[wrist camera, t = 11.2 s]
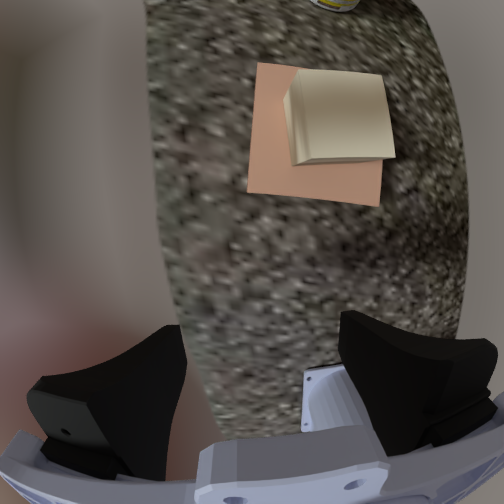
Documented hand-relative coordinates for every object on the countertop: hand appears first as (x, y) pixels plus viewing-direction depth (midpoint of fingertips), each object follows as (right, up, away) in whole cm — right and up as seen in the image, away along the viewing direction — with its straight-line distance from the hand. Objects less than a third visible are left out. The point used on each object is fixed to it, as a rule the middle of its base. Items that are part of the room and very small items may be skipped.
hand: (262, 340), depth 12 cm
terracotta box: (+4, +12, +8) cm, 16 cm away
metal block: (+4, +12, +4) cm, 13 cm away
